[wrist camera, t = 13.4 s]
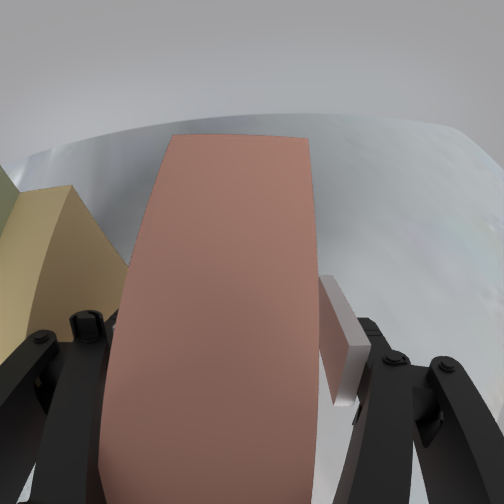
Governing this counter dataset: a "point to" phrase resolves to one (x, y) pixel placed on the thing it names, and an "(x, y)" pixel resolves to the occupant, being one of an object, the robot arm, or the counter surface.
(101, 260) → the row books
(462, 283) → the counter surface
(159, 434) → the terracotta book
